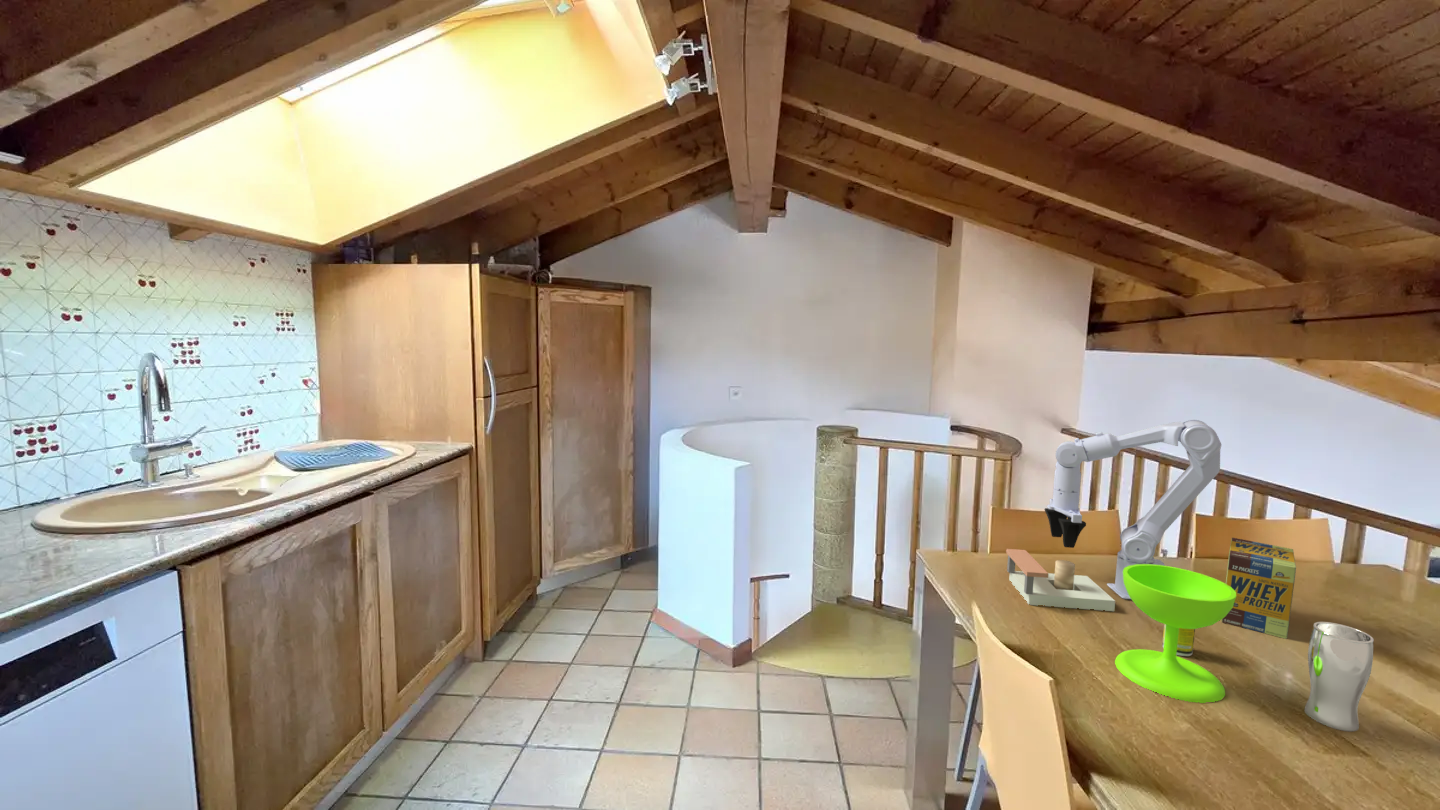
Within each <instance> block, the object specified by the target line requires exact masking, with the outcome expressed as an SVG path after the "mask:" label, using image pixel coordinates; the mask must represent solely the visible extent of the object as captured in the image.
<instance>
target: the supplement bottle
mask: <svg viewBox="0 0 1440 810" xmlns="http://www.w3.org/2000/svg"><path fill="white" fill-rule="evenodd" d="M1165 629H1166V624H1163V632H1162V633H1163V634H1162V642H1161V643H1162V645H1161V647H1162V648H1163V649H1164V639H1165ZM1195 632H1196V629H1183V628H1179V634H1178V644H1177V654H1176V656H1178V657H1190V656H1192V655H1193V652H1194V645H1195V643H1194V642H1195Z"/></svg>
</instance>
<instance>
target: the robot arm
mask: <svg viewBox="0 0 1440 810" xmlns="http://www.w3.org/2000/svg"><path fill="white" fill-rule="evenodd" d="M1179 442H1180V444H1181V446H1182V447H1184V449H1185V451H1186V454H1187V458H1188V461H1189V466H1188V467H1187V468H1186V469H1185V470H1184V471H1183V472H1182V473H1181V475H1180V476H1179V477H1177V479H1176V480H1175V482H1173V484H1171V486H1170V487H1169V488H1168V489H1167V490H1166V492H1165V493H1164V494H1162V496H1161V497H1160V498H1159V500H1157V501H1156V503H1154V505H1153V506H1152V507H1151V508H1150V510H1149V511H1148V512H1147V513H1146V514H1145V515H1144V516H1143V517H1140V518H1139V519H1138V520H1137V521H1136V522H1135V523H1134V524H1133V525H1131V526H1127V527H1126V528H1124V529H1123V530H1122V531H1121V532H1120V541H1121V549H1120V550H1119V551H1118V552H1117V556H1116V557H1117V558H1116V559H1117V560H1116V570H1115V578H1114V579H1115V580H1114V581H1115V582H1114V583H1110V582H1108V583H1106V586H1108V587H1109V588H1110V590H1112V591H1113V592H1114V593H1115V594H1117V595H1118V596H1119V597H1120V598H1122V599H1123V600H1132V599H1131V598H1130V596H1129V594H1128V592H1127V590H1126V587H1125V585H1124V581H1123V570H1124V568H1125V567H1127V566H1130V565H1136V564H1153V565H1163V566H1166V564H1165V563H1164V561H1162V560H1161V559H1158V558H1155V557H1154V555H1155V553H1156V548H1157V546H1158V545H1159V543H1160V542H1161V541H1162V538H1163V536H1164V535H1165V534H1164V533H1165V532H1166V531H1167V530H1168V529H1169V528H1170V526H1171V525H1172V524H1173V523H1174V522H1176V520H1177V519H1178V518H1179V517H1180V516H1181V515H1182V513H1183V512H1184V511H1185V510H1186V509H1187V508H1188V507H1189V506H1190V504H1191V503H1192V502H1194V500H1195V499H1196V498H1197V497H1198V496H1199V495H1200V494H1201V493H1202V492H1203V491H1204V489H1206V487H1207V486H1208V485H1209V484H1210V483H1211V482H1212V481H1213V479H1215V477H1216V476H1217V475H1219V472H1220V471H1221V448H1222V442H1221V440H1220V439H1219V436H1218V433H1217V432H1216V430H1215V429H1213V427H1211V426H1210V425H1208V424H1207V423H1206V422H1204V421H1202V420H1199V419H1188V420H1184V421H1183V422H1181V421H1175V422H1169V423H1163V424H1160V425H1156V426H1151V427H1148V428H1145V429H1141V430H1135V431H1133V432H1129V433H1125V434H1121V435H1117V436H1116V435H1114V434H1111V433H1109V432H1107V433H1103V432H1102V431H1099V432H1096V433H1095V435H1094V436H1089V437H1085V438H1081V439H1080V438H1079V437H1077V438H1074V441H1072V440H1069V441H1063V442H1061V443H1060V444H1059V445H1058V446H1057V448H1056V450H1055V459H1056V462H1055V470H1054V477H1053V478H1054V479H1053V490H1052V498H1049V504H1047V505H1046V508H1044V512H1045V514H1046V518H1047V520H1048V523H1049V524H1048V525H1049V528H1050V533H1051V534H1050V535H1051V537H1053V538H1062V542H1063V546H1064V548H1070V549H1071V548H1072V549H1073V548H1075V546H1076V543H1077V541H1078V539H1079V536H1080V534H1081V533H1082V531H1083V530H1084V528H1085V527H1086V526H1087V522H1086V521H1084V520H1083V515H1082V514H1081V510H1080V507H1079V505H1080V495H1081V479H1082V472H1081V464H1082V463H1083V462H1086V463H1089V462H1095V461H1099V460H1104V459H1108V458H1112V457H1117V456H1118V455H1119V453H1120V452H1121V450H1125V449H1131V448H1135V447H1141V446H1146V445H1151V444H1152V445H1153V444H1157V443H1164V444H1168V445H1172V446H1175V447H1178V446H1179Z"/></svg>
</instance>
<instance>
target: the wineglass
mask: <svg viewBox="0 0 1440 810" xmlns="http://www.w3.org/2000/svg"><path fill="white" fill-rule="evenodd" d="M1123 581H1124V585H1125V587H1126V590H1127V592H1128V594H1129V596H1130V598H1131V599H1130V600H1131V601H1132V602H1133V604H1135V606H1136V607H1137V608H1138V609H1139V610H1140V611H1142V613H1144V614H1146V616H1148V617H1149V618H1151V619H1152V620H1154V621H1156V622H1158V623H1161V624H1163V625H1164V624H1166V629H1165V639H1164V648H1163V651H1158V650H1153V649H1144V648H1141V649H1134V648H1133V649H1128V650H1123V651H1122V652H1120V653H1119V654H1118V655H1116V656H1115V657H1116V658H1115V660H1114V664H1115V667H1116V669H1117V670H1118V671H1119V672H1120V673H1121V674H1122V675H1123V676H1124V677H1126V678H1127V679H1128V680H1130V681H1131V682H1132V683H1135V684H1136V685H1138V686H1139V687H1142V688H1144V689H1146V688H1147V689H1146V690H1148V689H1149V690H1148V691H1150V690H1152V691H1151V692H1153V691H1154V692H1153V693H1155V692H1157V693H1159V694H1158V695H1161V694H1162V695H1161V696H1164V695H1165V697H1167V696H1169V697H1168V698H1170V697H1171V699H1173V698H1175V699H1174V700H1178V699H1179V701H1183V700H1184V701H1183V702H1187V701H1188V703H1197V704H1199V703H1200V704H1207V703H1206V702H1213V703H1216V702H1220V701H1221V700H1223V698H1224V697H1226V689H1225V687H1224V685H1223V684H1222V683H1221V681H1220V680H1219V678H1217V677H1216V676H1215V674H1213V673H1212V672H1211V671H1209V670H1207V669H1206V668H1205V667H1203V666H1201V665H1199V664H1197V663H1195V662H1192V661H1191V660H1188V659H1185V658H1183V657H1182V656H1179V655H1176V654H1177V644H1178V634H1179V628H1183V629H1195V630H1196V629H1197V630H1198V629H1202V628H1205V627H1206V628H1207V627H1210V626H1213V625H1215V624H1217V623H1218V622H1220V621H1222V619H1223V618H1224V617H1225V616H1226V615H1227V614H1228V613H1229V611H1230V610H1231V609H1232V608H1233V605H1234V602H1235V599H1236V592H1235V591H1234V590H1233V588H1232V587H1230V586H1228V585H1227V584H1226V582H1223V581H1222V580H1219V579H1216V578H1214V577H1212V576H1211V577H1210V576H1209V575H1206V574H1203V573H1200V572H1197V571H1196V572H1195V571H1193V570H1188V569H1185V568H1180V567H1174V566H1168V565H1165V566H1163V565H1153V564H1136V565H1130V566H1127V567H1125V568H1124V570H1123ZM1157 693H1156V694H1157ZM1215 701H1216V702H1215ZM1198 702H1199V703H1198Z"/></svg>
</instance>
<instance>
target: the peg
mask: <svg viewBox="0 0 1440 810" xmlns="http://www.w3.org/2000/svg"><path fill="white" fill-rule="evenodd" d="M1054 563H1055V567H1054V574H1055V576H1054V587H1055V588H1056V589H1061V590H1073V584H1074V575H1075V572H1076V564H1075V563H1074V562H1072V561H1069V560H1065V559H1057V560H1055V562H1054Z"/></svg>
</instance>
